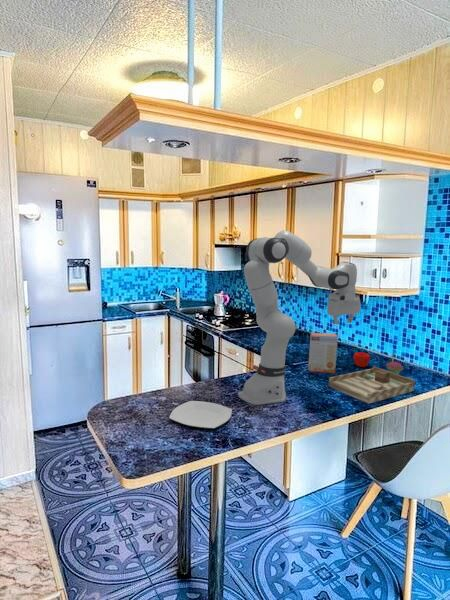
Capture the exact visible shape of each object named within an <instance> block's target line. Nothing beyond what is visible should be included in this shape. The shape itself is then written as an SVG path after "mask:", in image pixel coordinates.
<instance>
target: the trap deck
mask: <svg viewBox="0 0 450 600" xmlns="http://www.w3.org/2000/svg"><path fill="white" fill-rule="evenodd" d="M378 370H385V371H388V370H387V369H383V368H380V367H378V366H377V367H376V366H374V365H373V366H372V368H369V369H362V370H359V371H353V372H349V373H343V374H340V375H335V376H331V377H328V386H327V387H329V388H331V389H333V390H336V391H338V392H341V393H343V394H345V395H348V396H350V397H352V398H355V400H356V399H357V400H359V401H361V402H364V403H366V404H368V405H369V404H372V403H377V402H380V401H384V400H388V399H391V398H394V397H398V396H401V395H405V394H409V393H412V391H413V392H415V384H416V380H415V379H412V378H409V377H406V376H404V375H400V374H399V375H398V374H395V373H392V372H390V382H388V383H384V384H383V383H380V382H377V381H375V372H376V371H378ZM388 372H389V371H388Z"/></svg>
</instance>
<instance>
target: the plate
mask: <svg viewBox="0 0 450 600" xmlns="http://www.w3.org/2000/svg"><path fill="white" fill-rule="evenodd" d="M232 413H233V409H232V408H230V407H227V406H225V405H221V404H219V403H214V402H210V401H209V402H208V401H199V400H189V401H187V402H184V403H182V404H179V405H178V406H176V407H174V409H173V410H172V411H171V413H170V415H169V417H168V419H169V420H171V421H174V422H176V423H179V424H181V425H185V426H187V427H193V428H194V427H195V428H200V429H202V428H203V429H216V428H218V427H220V426H222V425H224V424H225V423H226V422H228V421H229V420H230V418H231V417H232V415H233V414H232Z"/></svg>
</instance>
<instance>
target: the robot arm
mask: <svg viewBox="0 0 450 600" xmlns="http://www.w3.org/2000/svg"><path fill="white" fill-rule="evenodd" d="M245 252H246V253H245V254H246V261H247V263H246V264H245V265H244V266H243V275H244V278H245V281H246V285H247V288H248V290H249V294H250V296H251V298H252V301H253V304H254V308H255V313H256V317H255V318H256V323H257V325H258V327H260V329H261V330H262V331H264V332H265V333H266V338H265V341H264V343H263V345H262V346H261V349H260V361H259V362H260V363H259V364H258V365H256V364H254V365H253V366H252V370H254V371H256V372H255V373H254V374H253V375H252V376H251V377H250V378H248V379H247V380H246V381H245V382H244V385H243V390H241V391H239V392H237V396H238V398H240V399H241V400H242V401H244V402H246V403H248V404H251V405H255V406H257V405H260V406H261V405H266V404H275V403H283V402H286V397H287V394H286V393H287V392H286V388H285V387H286V386H285V385H286V384H285V375H286V365H285V364H286V353H287V347H288V343H289V342H290V338H292V337H293V336H294V334H295V333H296V330H297V327H296V323H295V321H294V319H292V318H291V317H290V316H289V315H287V314H285V313H283V312H281V310H280V307H279V303H278V299H279V295H278V291H277V289H276V286H275V283H274V281H273V278H272V275H271V272H270V264H278V263H280V262H282V261H283V260H285V259H286V260H287V261H288V262H290V263H291V264H293V265H294V266H296V267H297V268H298V269H300V270H301V271H302V272H303V273H304V274H305V275H306V276H307V277H308V278H309V280H310V282H311V284H312V285H313V286H315V287H317V288H323V289H329V290H335V291H334V292H332V293H330V294H328V299H329V300H328V301H327V308H326V312H327V315H329V316H332V319H333V324H334V325H338V324H340V320H339V319H338V318H339V316H346V315H349V317H348V318H347V319H346V321H347V323H348V324H351V323H352V322H353V319H354V317H355V314H360V312H361V300H360V299H361V298H360V296H359V294H356V283H357V279H358V278H357V277H358V269H357V265H356V264H355V263H353V262H348V261H341V262H340V263H339V264H338V265H336V266H335V267H332V268H328V267H324V266H318V265H316V264H315V263H314V262H313V261H312V260H311V258H312V252H313V251H312V247H311V246H309V244H308V243H307V242H306V241H304V240H303V239H302V238H300V237H299V236H298V235H296V234H294V233H292V232H291V231H288V230H283V229H282V230H280V231H279V232H277V233H276V234H275V235H274V237H267V236H266V237H259V238H258V237H257V238H254V239H251V240H249V242H248V243H247V245H246V250H245Z"/></svg>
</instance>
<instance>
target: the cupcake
mask: <svg viewBox="0 0 450 600" xmlns="http://www.w3.org/2000/svg"><path fill="white" fill-rule="evenodd" d="M385 368H386V369H387V371H389V372H392V373H395V374H398V375H400V372H401V371H403V370H404V367H403V365H402V364H401V363H400V362H398V361H397V362H396V361H394V354H393V353H391V361H389V362H387V363H386V365H385Z"/></svg>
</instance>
